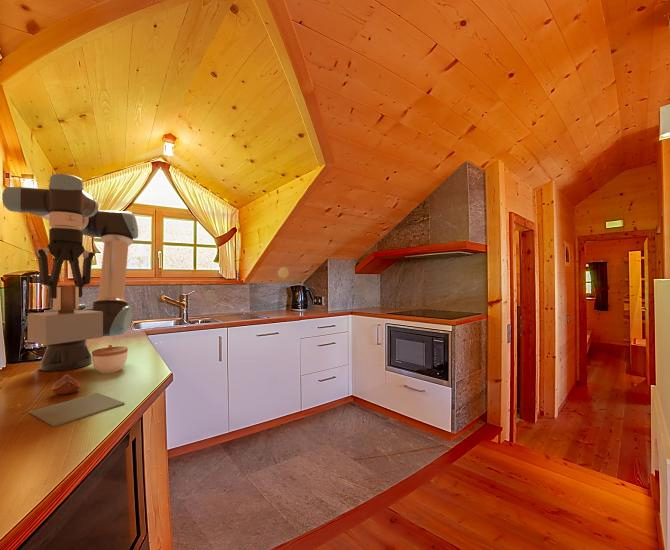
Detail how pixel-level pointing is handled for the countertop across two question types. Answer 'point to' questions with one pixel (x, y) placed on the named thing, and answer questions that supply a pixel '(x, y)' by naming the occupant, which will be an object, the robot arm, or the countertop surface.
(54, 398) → the countertop surface
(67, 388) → the fruit slice
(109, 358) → the lidded jar
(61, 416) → the mat
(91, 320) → the cover
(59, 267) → the robot arm
